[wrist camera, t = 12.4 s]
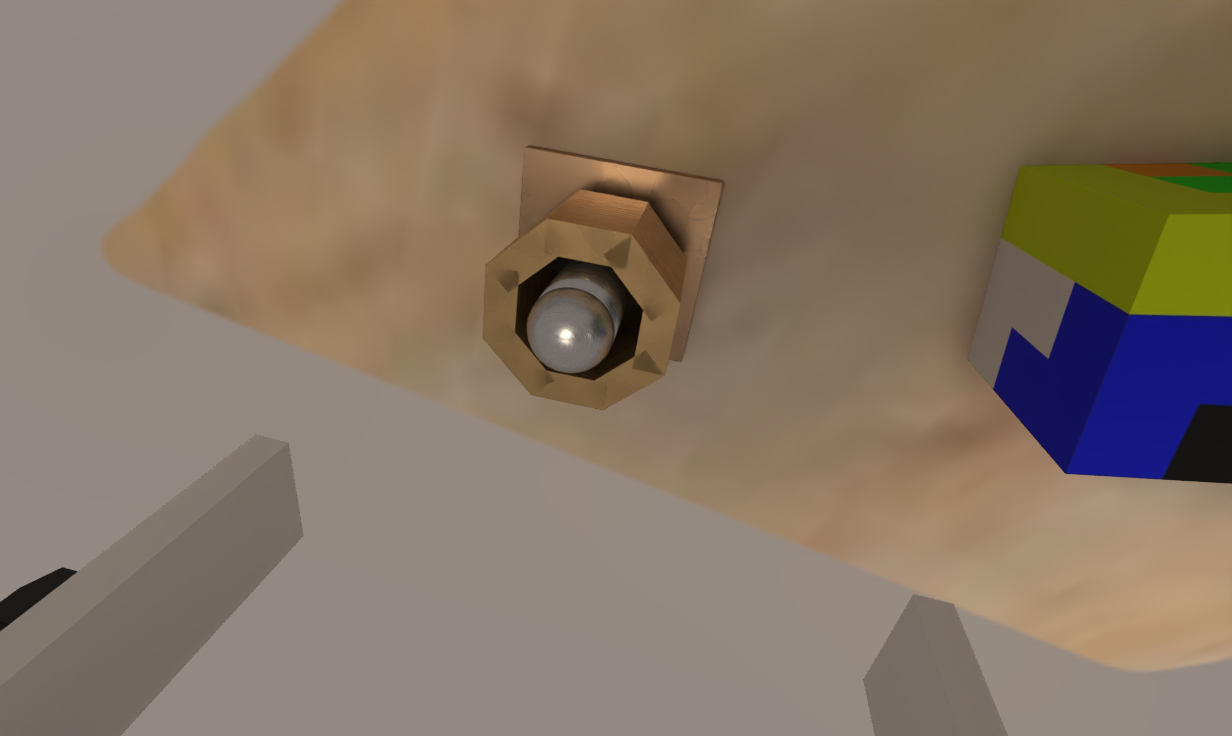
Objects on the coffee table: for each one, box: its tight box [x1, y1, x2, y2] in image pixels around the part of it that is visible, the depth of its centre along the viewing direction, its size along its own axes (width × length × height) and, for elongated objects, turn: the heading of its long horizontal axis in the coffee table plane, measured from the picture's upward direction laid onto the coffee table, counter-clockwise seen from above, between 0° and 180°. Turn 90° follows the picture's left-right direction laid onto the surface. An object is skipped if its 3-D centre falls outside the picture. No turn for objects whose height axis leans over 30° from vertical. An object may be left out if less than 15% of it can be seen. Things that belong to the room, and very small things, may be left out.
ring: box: [483, 189, 687, 410], centre depth 26 cm, size 8×8×6 cm
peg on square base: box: [518, 145, 723, 373], centre depth 26 cm, size 10×10×12 cm
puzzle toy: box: [968, 163, 1232, 484], centre depth 24 cm, size 10×10×10 cm
